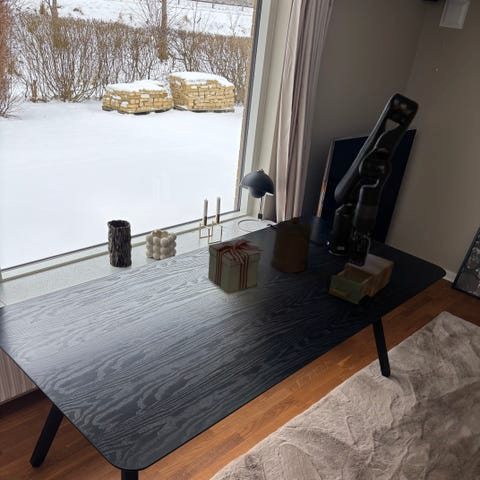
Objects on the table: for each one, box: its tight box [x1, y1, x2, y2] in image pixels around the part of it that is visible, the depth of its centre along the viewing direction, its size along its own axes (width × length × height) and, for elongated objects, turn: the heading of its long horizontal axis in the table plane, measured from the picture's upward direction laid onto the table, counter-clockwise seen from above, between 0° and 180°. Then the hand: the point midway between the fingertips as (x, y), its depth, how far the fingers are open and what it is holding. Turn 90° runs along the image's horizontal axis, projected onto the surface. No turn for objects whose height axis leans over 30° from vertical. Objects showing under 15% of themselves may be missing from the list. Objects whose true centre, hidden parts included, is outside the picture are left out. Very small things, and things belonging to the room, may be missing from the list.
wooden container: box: [271, 216, 312, 273], centre depth 207 cm, size 15×15×22 cm
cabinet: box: [343, 252, 395, 298], centre depth 200 cm, size 17×14×10 cm
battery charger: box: [347, 235, 371, 267], centre depth 183 cm, size 7×4×11 cm, turn 49°
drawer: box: [328, 267, 374, 305], centre depth 189 cm, size 22×13×8 cm, turn 141°
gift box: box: [207, 238, 264, 294], centre depth 191 cm, size 17×18×17 cm
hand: (356, 257), depth 184 cm, fingers closed on battery charger, 4 cm apart
